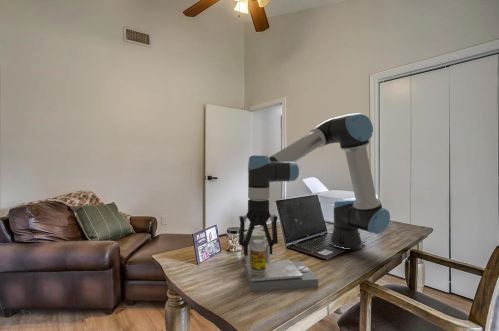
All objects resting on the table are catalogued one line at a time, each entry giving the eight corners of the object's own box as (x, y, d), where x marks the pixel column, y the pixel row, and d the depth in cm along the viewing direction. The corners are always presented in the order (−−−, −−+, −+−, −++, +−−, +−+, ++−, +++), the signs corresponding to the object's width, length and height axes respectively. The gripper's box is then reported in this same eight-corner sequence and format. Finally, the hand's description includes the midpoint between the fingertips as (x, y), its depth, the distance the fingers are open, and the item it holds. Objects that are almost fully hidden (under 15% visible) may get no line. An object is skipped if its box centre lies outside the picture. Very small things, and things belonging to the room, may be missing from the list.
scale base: (301, 267, 100) (301, 259, 100) (318, 286, 85) (318, 277, 85) (244, 271, 96) (244, 263, 96) (251, 291, 81) (251, 282, 81)
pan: (290, 262, 98) (290, 260, 98) (302, 277, 85) (302, 275, 85) (245, 264, 95) (245, 262, 95) (251, 281, 82) (251, 278, 82)
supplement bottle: (249, 272, 87) (249, 243, 87) (251, 265, 93) (251, 238, 92) (265, 273, 86) (265, 244, 86) (266, 266, 92) (266, 239, 92)
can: (263, 264, 103) (264, 235, 102) (241, 262, 104) (242, 233, 104) (266, 256, 112) (267, 229, 111) (246, 254, 114) (246, 228, 113)
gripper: (281, 197, 94) (281, 258, 95) (230, 197, 91) (229, 261, 91) (288, 200, 87) (287, 266, 87) (232, 201, 83) (231, 270, 84)
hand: (257, 263), depth 89 cm, fingers open, 6 cm apart
